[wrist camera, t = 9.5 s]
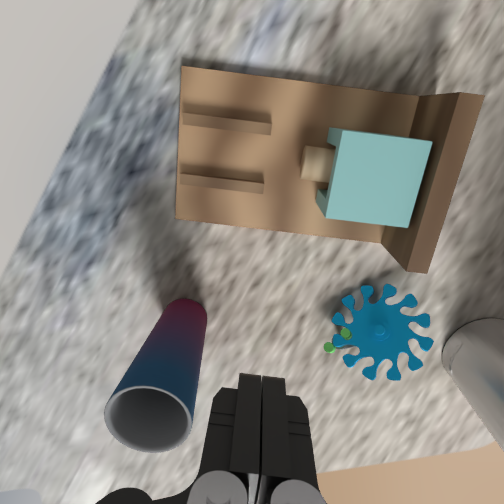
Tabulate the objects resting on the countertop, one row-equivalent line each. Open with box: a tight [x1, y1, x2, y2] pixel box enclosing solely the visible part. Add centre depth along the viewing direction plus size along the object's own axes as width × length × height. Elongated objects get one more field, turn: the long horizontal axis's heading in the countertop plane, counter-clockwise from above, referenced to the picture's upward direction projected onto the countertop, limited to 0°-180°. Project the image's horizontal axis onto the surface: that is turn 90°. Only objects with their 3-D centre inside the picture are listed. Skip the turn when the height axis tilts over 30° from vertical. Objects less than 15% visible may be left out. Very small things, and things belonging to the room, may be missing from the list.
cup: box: [104, 299, 207, 453], centre depth 35 cm, size 7×7×15 cm
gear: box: [324, 284, 434, 380], centre depth 39 cm, size 11×6×10 cm
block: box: [316, 127, 432, 228], centre depth 32 cm, size 7×7×6 cm
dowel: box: [300, 146, 335, 183], centre depth 33 cm, size 8×3×3 cm, turn 82°
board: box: [175, 66, 485, 274], centre depth 31 cm, size 23×14×8 cm, turn 83°
